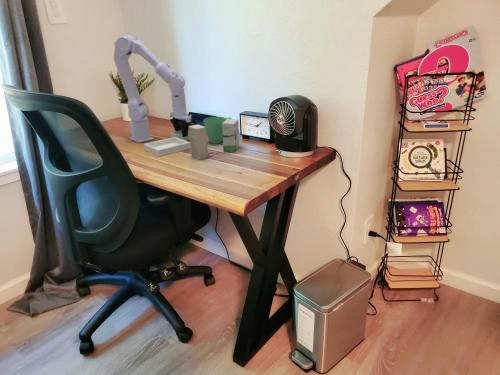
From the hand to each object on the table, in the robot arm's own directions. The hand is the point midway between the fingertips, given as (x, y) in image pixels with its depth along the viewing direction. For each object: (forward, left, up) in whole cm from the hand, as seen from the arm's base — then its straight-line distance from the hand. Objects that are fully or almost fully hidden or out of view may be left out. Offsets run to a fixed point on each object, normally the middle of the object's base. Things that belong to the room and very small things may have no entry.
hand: (181, 135), depth 175 cm
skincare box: (+26, -8, -2) cm, 27 cm away
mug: (+14, +11, -2) cm, 18 cm away
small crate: (0, 0, -2) cm, 2 cm away
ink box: (+27, +7, -2) cm, 28 cm away
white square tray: (+8, -12, -2) cm, 15 cm away
